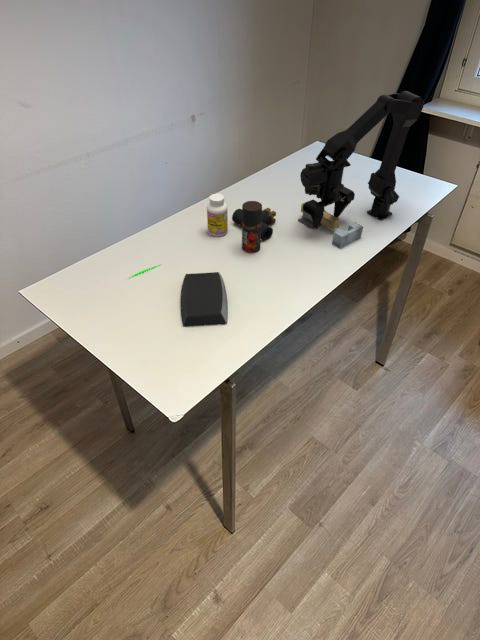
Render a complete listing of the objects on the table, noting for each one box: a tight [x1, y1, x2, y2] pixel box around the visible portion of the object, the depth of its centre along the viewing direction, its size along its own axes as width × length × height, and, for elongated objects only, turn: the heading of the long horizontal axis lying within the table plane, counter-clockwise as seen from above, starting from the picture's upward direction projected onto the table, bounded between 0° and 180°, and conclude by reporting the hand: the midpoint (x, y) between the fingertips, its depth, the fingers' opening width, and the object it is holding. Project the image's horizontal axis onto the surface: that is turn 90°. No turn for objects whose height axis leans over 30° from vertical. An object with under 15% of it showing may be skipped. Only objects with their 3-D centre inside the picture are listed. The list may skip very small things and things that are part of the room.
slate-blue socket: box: [331, 221, 364, 250], centre depth 143 cm, size 10×4×4 cm, turn 128°
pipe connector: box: [231, 207, 277, 242], centre depth 149 cm, size 12×5×15 cm
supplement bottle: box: [206, 193, 229, 238], centre depth 144 cm, size 7×7×13 cm
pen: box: [129, 264, 161, 279], centre depth 133 cm, size 1×14×1 cm, turn 127°
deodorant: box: [241, 200, 263, 254], centre depth 137 cm, size 6×6×15 cm
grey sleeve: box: [297, 209, 326, 230], centre depth 152 cm, size 8×7×4 cm
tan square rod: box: [300, 200, 341, 231], centre depth 150 cm, size 3×15×3 cm, turn 38°
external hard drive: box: [180, 271, 229, 328], centre depth 123 cm, size 13×19×4 cm
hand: (325, 223), depth 149 cm, fingers open, 9 cm apart
